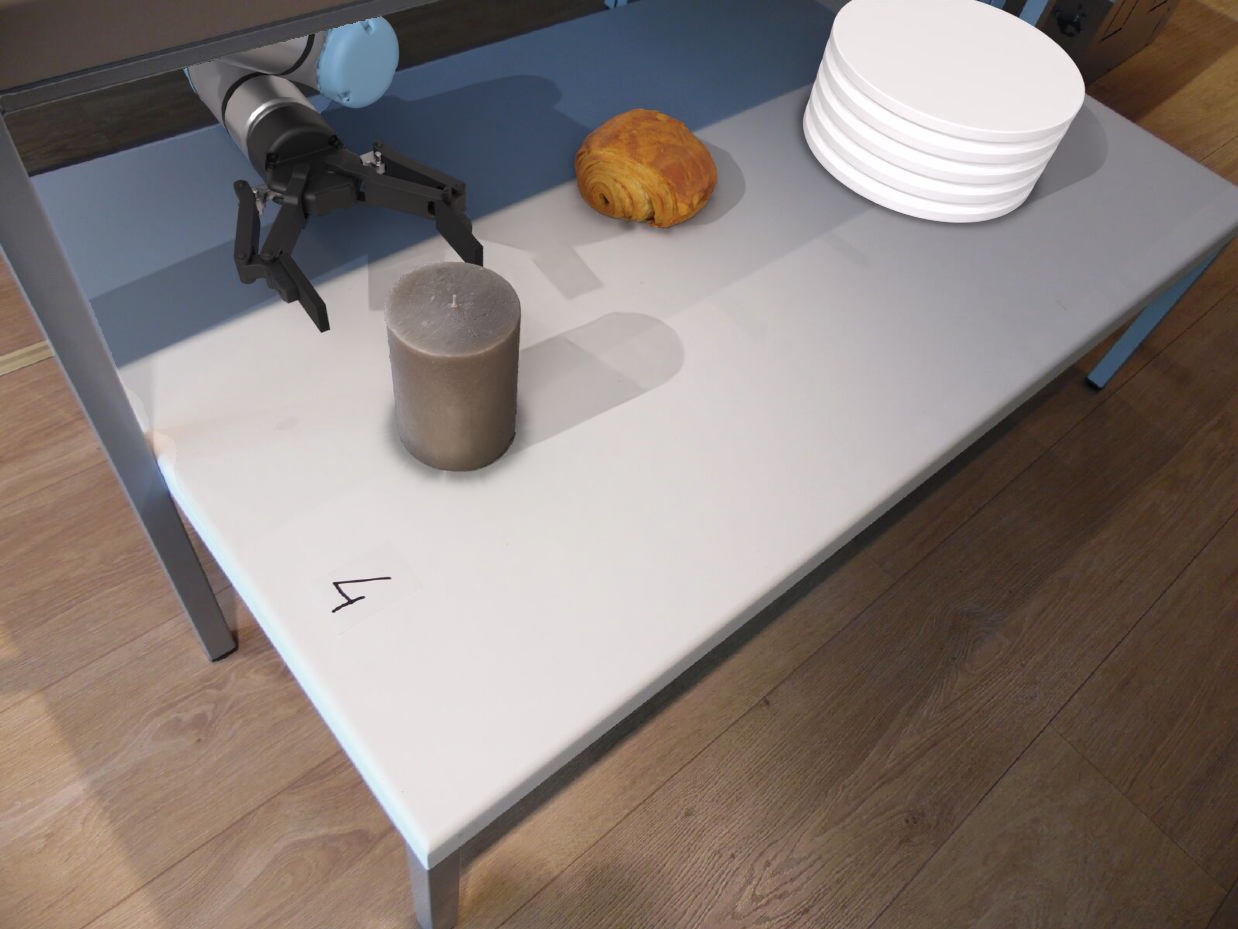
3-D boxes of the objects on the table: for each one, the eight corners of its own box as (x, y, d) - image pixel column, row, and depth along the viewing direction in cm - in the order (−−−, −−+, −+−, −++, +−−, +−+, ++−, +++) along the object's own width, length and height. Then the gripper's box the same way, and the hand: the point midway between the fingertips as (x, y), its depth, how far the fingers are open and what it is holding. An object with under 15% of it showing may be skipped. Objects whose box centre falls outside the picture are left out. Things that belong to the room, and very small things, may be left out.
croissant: (549, 204, 97) (545, 143, 90) (636, 127, 104) (639, 64, 97) (659, 267, 93) (664, 208, 86) (743, 182, 99) (754, 121, 92)
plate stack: (800, 62, 117) (828, -30, 107) (1012, 99, 118) (1058, 12, 109) (805, 199, 100) (839, 104, 91) (1053, 241, 101) (1111, 152, 92)
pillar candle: (537, 443, 76) (549, 313, 64) (431, 492, 71) (422, 362, 59) (479, 366, 80) (480, 230, 68) (375, 407, 76) (356, 270, 64)
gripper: (415, 140, 89) (535, 272, 80) (155, 217, 78) (260, 379, 70) (411, 68, 83) (539, 203, 74) (128, 141, 72) (239, 308, 64)
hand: (404, 289), depth 72 cm, fingers open, 13 cm apart
